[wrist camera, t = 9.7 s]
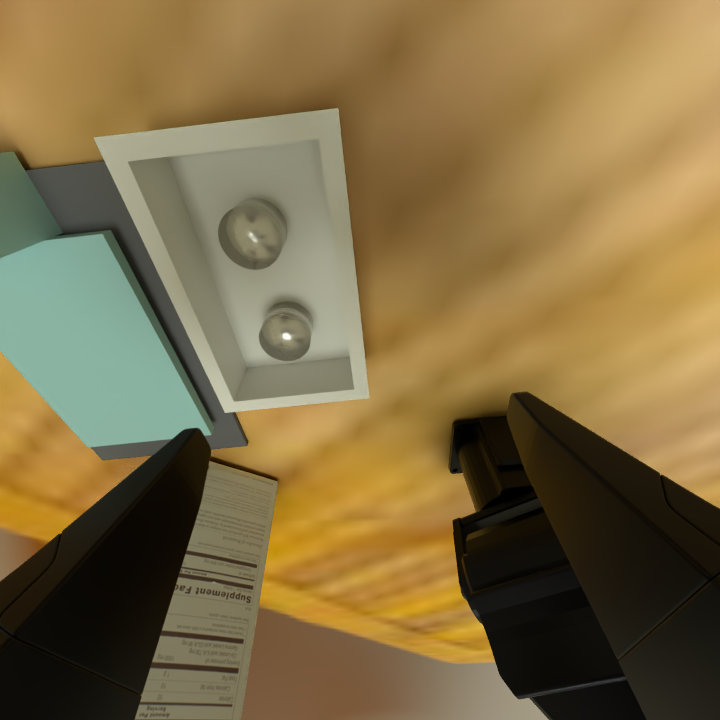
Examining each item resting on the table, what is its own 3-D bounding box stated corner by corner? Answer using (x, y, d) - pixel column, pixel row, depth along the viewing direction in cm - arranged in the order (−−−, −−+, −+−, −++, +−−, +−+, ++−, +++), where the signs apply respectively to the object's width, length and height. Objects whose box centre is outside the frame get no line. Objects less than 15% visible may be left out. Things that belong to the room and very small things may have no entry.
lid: (216, 421, 25) (195, 474, 21) (98, 433, 25) (56, 488, 21) (75, 143, 14) (-17, 152, 11) (-127, 168, 15) (-284, 184, 11)
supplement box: (242, 524, 35) (181, 787, 21) (148, 502, 31) (5, 799, 18) (281, 479, 30) (235, 781, 17) (176, 447, 26) (10, 795, 13)
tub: (365, 358, 23) (369, 398, 19) (241, 371, 23) (224, 412, 20) (338, 110, 15) (337, 107, 11) (147, 133, 15) (93, 137, 11)
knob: (316, 339, 21) (314, 358, 19) (272, 344, 21) (266, 363, 19) (308, 298, 19) (305, 315, 17) (259, 304, 19) (252, 321, 17)
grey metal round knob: (292, 253, 17) (287, 266, 16) (240, 258, 17) (230, 272, 16) (280, 194, 16) (273, 203, 14) (222, 200, 16) (208, 209, 14)
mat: (248, 442, 27) (247, 445, 27) (105, 456, 27) (102, 460, 27) (120, 158, 15) (115, 159, 15) (-130, 188, 15) (-140, 190, 15)
